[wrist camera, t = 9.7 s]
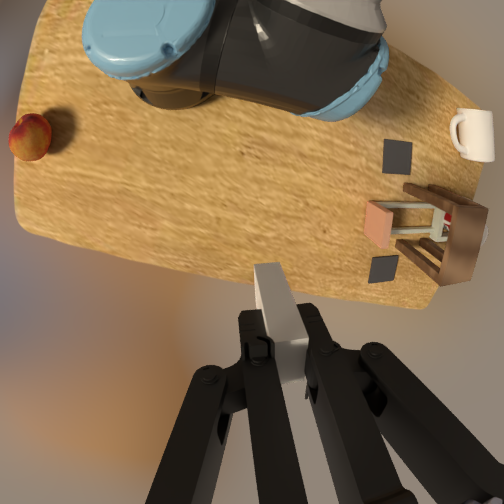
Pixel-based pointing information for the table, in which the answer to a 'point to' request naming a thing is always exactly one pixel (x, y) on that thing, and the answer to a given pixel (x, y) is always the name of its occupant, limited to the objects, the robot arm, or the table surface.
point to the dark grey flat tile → (383, 269)
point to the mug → (474, 134)
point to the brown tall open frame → (449, 236)
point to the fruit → (30, 137)
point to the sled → (381, 223)
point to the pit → (397, 157)
